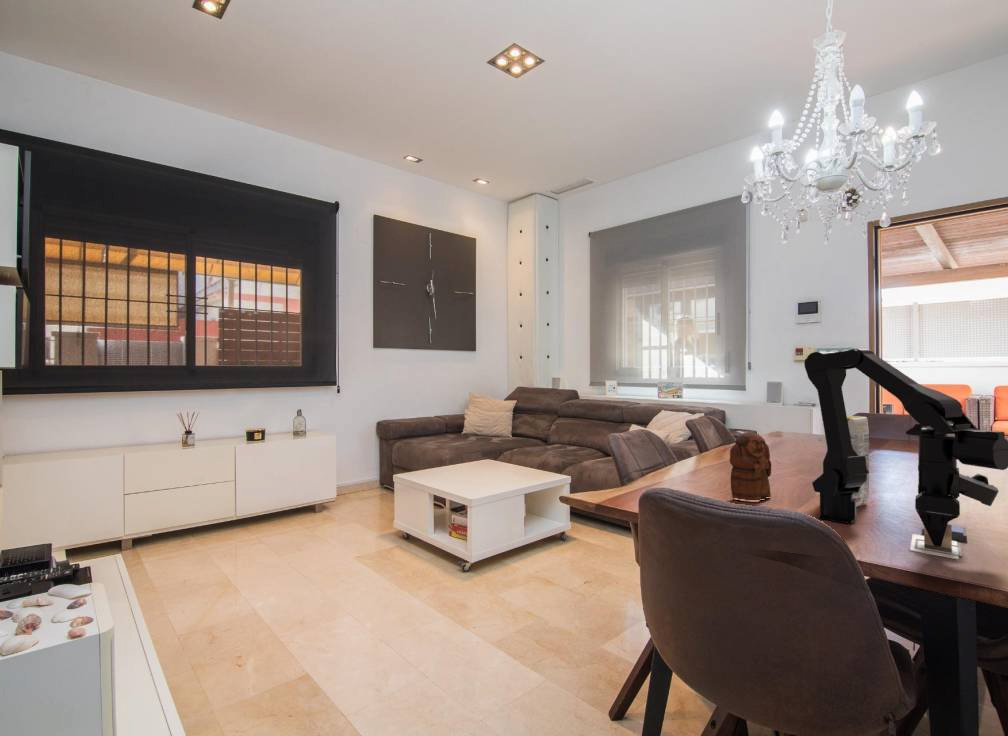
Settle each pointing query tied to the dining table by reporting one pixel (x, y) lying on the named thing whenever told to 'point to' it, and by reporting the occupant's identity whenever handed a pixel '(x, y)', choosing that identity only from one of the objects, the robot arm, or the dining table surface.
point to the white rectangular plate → (918, 546)
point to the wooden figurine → (750, 467)
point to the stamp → (946, 542)
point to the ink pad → (956, 532)
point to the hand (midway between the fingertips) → (937, 539)
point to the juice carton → (859, 451)
